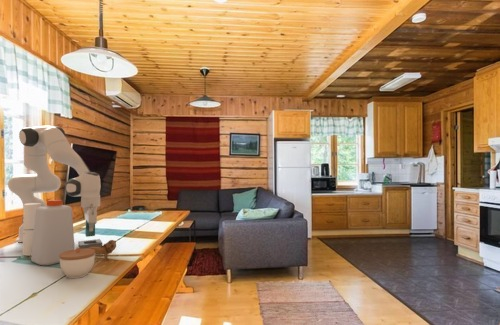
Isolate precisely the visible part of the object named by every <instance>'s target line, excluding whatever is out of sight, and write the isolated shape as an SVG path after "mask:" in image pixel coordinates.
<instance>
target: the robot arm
mask: <svg viewBox="0 0 500 325" xmlns="http://www.w3.org/2000/svg"><path fill="white" fill-rule="evenodd" d="M18 133H19V134H18V135H19V136H18V137H19V138H18V139H19V141H20V143H21V144H22V145H23V146H24V147H23V165H24V167H25V168H26V169H28V170H30V171H33V173H35V174H18V175H13V176H11V177H10V178H9V179H8V181H7V182H8V184H7V186H8V189H9V190H10V192H11V193H13V194H15V195H16V196H17V197H18V198H19V199H20V201H21V203H22V209H23V210H22V211H23V212H24V204H28V203H41V207H42V206H47V202H46V201H45V200H43V199H42V198H38V197H36V196H35V195H34V194H38V193H39V194H42V193H44V194H45V193H52V192H57V191H58V190H59V189H60V188H61V184H62V180H61V178H60V177H59V176H58V175H57V174H54V173H53V172H52V171H51V169H50V168H49V164H48V156H49V157H50V158H51V160H52V161H54V162H56V163H59V164H63V165H67V166H68V167H70V168H73V169H74V170H75V171H76V172H77V174H78V176H77V177H74V178H73V177H72V178H70V179H68V180H67V181H66V183H65V187H64V190H65V193H66V194H67V195H68V196H69V197H74V198H75V197H76V198H77V197H81V198H80V208H83V215H84V216H83V217H84V219H85V221H86V220H87V222H88V224H89V231H93V226H94V224H95V225H96V224H97V222H98V218H97V217H98V212H97V210H98V208H100V207H101V194H100V193H101V188H102V186H101V178H100V177H101V176H100V174H99V173H97V172H95V171H92V170H90V168H89V166H88V165H87V164H86V162H85V161H84V160H83V158H82V157H81V155H79V153H77V152H76V151H75V150H74V149H73V147H72V146H71V145H70V142H69V141H68V139H67V137H66V135H67V134H66V131H65V130H64V128H63V127H61V126H56V125H52V126H51V125H41V126H33V127H30V126H28V127H23V128H21V130H20V131H19V132H18ZM21 220H22V222H21V223H22V224H21V225H20V226H19V228H18V237H17V238H16V239H14V243H19V242H20V243H23V218H22V219H21Z"/></svg>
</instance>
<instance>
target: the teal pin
mask: <svg viewBox="0 0 500 325" xmlns="http://www.w3.org/2000/svg"><path fill="white" fill-rule="evenodd" d="M84 234H85V237H86V238H88V237H95V236H96V224H94V226H93V231H89V224H88V222H87V220H86V219H85V233H84Z"/></svg>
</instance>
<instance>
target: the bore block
mask: <svg viewBox="0 0 500 325" xmlns="http://www.w3.org/2000/svg"><path fill="white" fill-rule="evenodd" d="M77 243H78V244H77V246H78V247H80V249H84V248H90V247H101V246H103V242H102V240H101V239H100V238H97V239H87V240H81V241H80V240H79V241H78V242H77Z"/></svg>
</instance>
